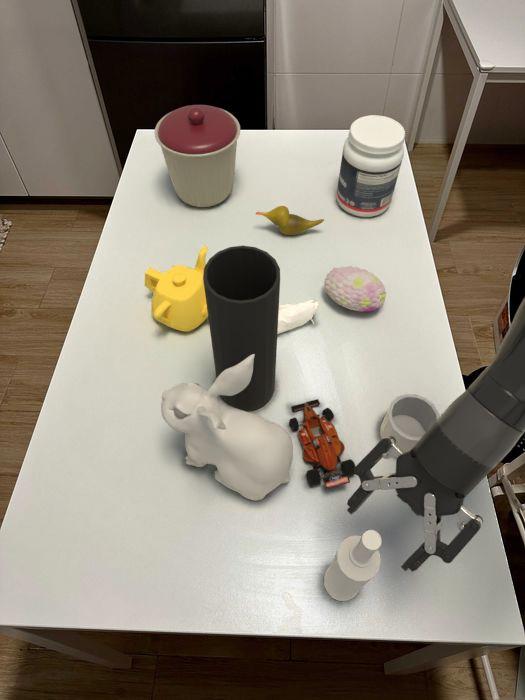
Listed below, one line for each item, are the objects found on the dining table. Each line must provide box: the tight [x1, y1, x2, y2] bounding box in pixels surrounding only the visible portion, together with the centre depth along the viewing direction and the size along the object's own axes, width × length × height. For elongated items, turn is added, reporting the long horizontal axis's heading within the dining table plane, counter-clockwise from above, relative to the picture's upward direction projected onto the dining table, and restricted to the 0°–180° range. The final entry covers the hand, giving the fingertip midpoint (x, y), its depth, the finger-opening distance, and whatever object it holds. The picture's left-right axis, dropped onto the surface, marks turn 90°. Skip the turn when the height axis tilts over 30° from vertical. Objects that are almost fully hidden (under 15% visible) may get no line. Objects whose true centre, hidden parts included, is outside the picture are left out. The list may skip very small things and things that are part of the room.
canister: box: [154, 104, 241, 208], centre depth 114 cm, size 18×18×21 cm
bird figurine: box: [277, 298, 320, 335], centre depth 98 cm, size 5×7×10 cm
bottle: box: [323, 529, 383, 602], centre depth 64 cm, size 5×5×25 cm
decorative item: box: [323, 265, 387, 313], centre depth 101 cm, size 9×11×10 cm
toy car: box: [288, 398, 356, 490], centre depth 85 cm, size 8×16×4 cm, turn 15°
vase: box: [203, 245, 281, 412], centre depth 80 cm, size 10×10×30 cm
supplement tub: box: [335, 114, 406, 218], centre depth 113 cm, size 13×13×18 cm
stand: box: [379, 393, 441, 452], centre depth 85 cm, size 8×8×7 cm
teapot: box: [144, 245, 209, 332], centre depth 98 cm, size 14×13×10 cm
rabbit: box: [160, 354, 294, 501], centre depth 75 cm, size 12×21×25 cm, turn 67°
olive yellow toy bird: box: [255, 205, 325, 236], centre depth 112 cm, size 4×15×6 cm, turn 86°
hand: (377, 538), depth 61 cm, fingers open, 8 cm apart
